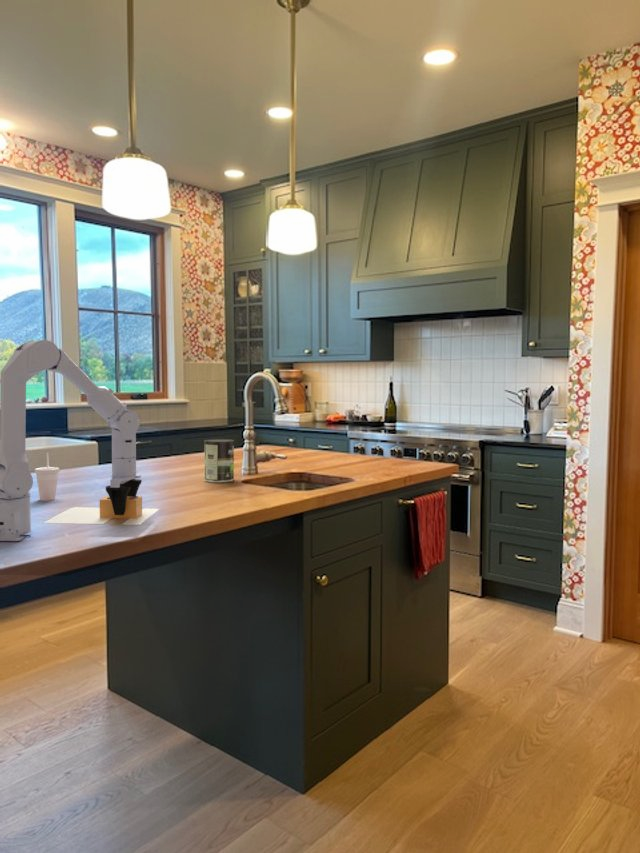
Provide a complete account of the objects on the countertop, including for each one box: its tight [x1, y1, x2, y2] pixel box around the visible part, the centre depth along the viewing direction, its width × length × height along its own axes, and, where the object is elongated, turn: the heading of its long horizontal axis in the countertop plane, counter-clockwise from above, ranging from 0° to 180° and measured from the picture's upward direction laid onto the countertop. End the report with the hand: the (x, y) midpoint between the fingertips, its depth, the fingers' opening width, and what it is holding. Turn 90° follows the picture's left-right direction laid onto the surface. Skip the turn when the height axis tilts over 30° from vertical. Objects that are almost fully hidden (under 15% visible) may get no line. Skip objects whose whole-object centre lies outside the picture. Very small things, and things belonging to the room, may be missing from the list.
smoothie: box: [34, 452, 60, 502], centre depth 175 cm, size 6×6×14 cm
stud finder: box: [99, 495, 143, 518], centre depth 157 cm, size 5×9×5 cm, turn 90°
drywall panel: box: [42, 506, 160, 526], centre depth 157 cm, size 18×23×1 cm
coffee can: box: [203, 438, 235, 484], centre depth 218 cm, size 10×10×14 cm
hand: (124, 511), depth 157 cm, fingers open, 7 cm apart
